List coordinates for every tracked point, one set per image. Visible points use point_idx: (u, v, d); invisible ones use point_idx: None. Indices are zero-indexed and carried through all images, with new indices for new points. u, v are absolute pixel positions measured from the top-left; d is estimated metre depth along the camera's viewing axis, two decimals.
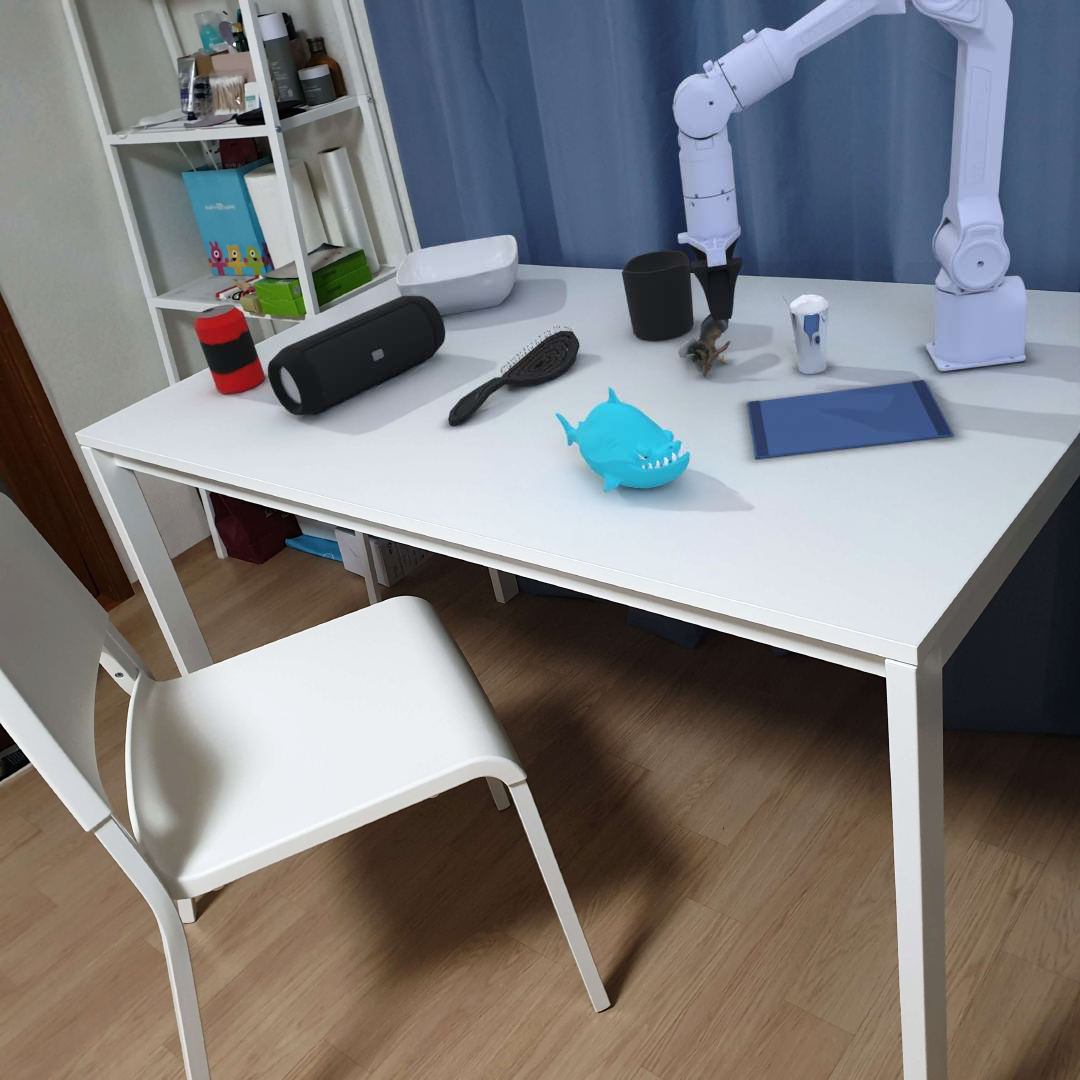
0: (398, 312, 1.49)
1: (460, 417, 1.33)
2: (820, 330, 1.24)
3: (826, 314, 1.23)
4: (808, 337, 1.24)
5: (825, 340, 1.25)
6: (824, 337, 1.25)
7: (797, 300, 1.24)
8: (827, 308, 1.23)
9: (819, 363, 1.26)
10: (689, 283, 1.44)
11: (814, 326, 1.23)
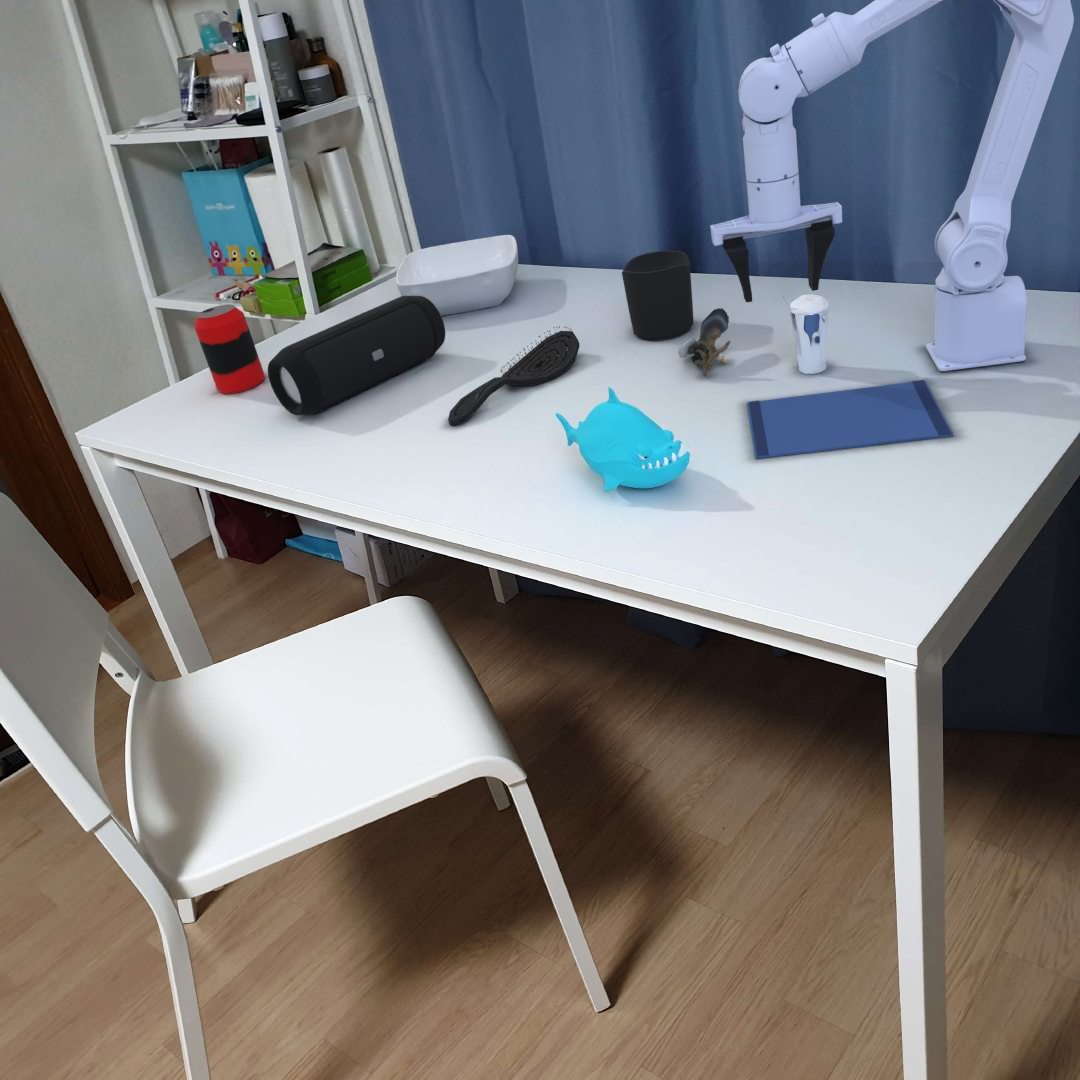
0: (398, 312, 1.49)
1: (460, 417, 1.33)
2: (820, 330, 1.24)
3: (826, 314, 1.23)
4: (808, 337, 1.24)
5: (825, 340, 1.25)
6: (824, 337, 1.25)
7: (797, 300, 1.24)
8: (827, 308, 1.23)
9: (819, 363, 1.26)
10: (689, 283, 1.44)
11: (814, 326, 1.23)
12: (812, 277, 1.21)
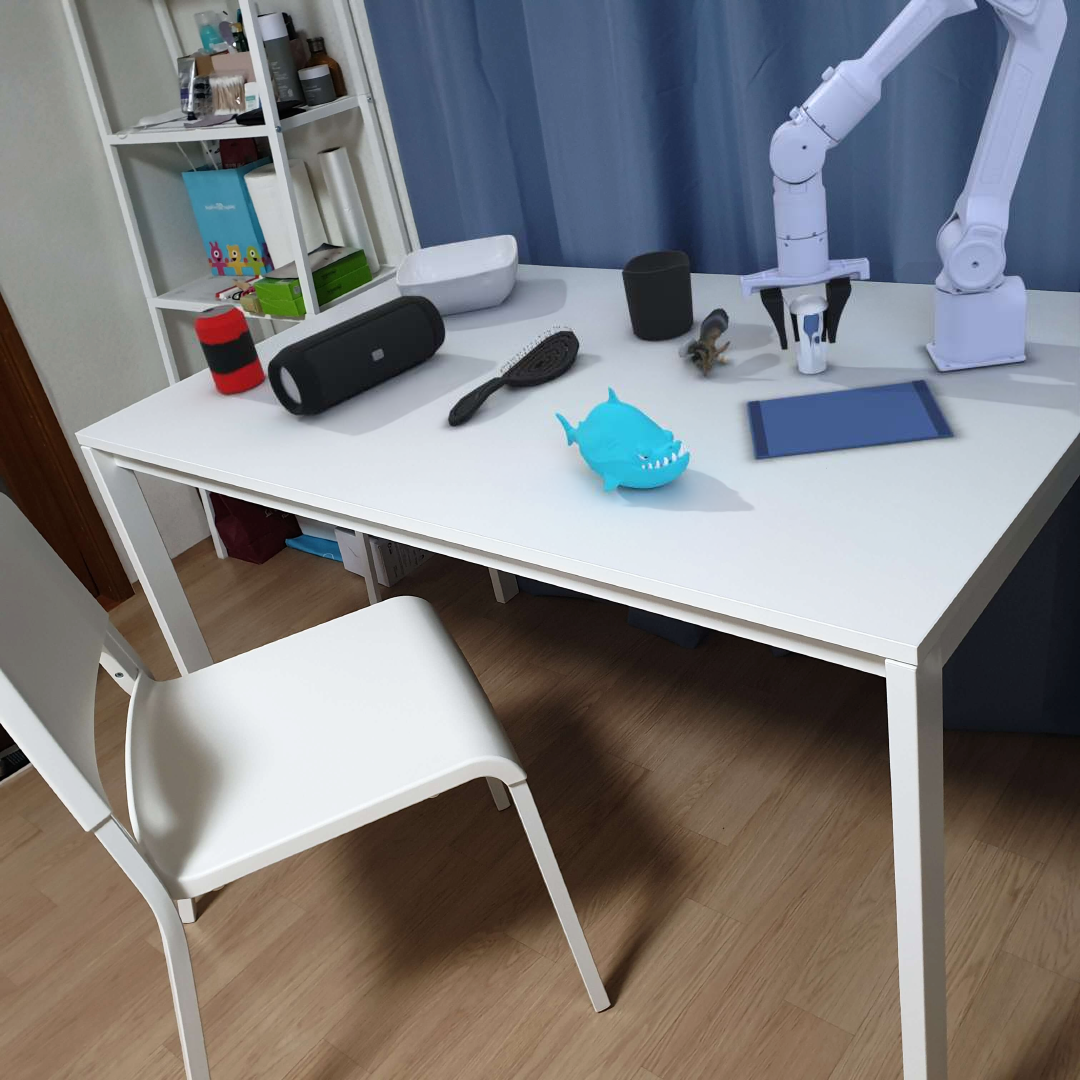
0: (398, 312, 1.49)
1: (460, 417, 1.33)
2: (819, 330, 1.24)
3: (826, 314, 1.23)
4: (808, 337, 1.24)
5: (825, 340, 1.25)
6: (824, 337, 1.25)
7: (797, 300, 1.24)
8: (827, 308, 1.23)
9: (819, 363, 1.26)
10: (689, 283, 1.44)
11: (814, 326, 1.23)
12: (829, 331, 1.24)
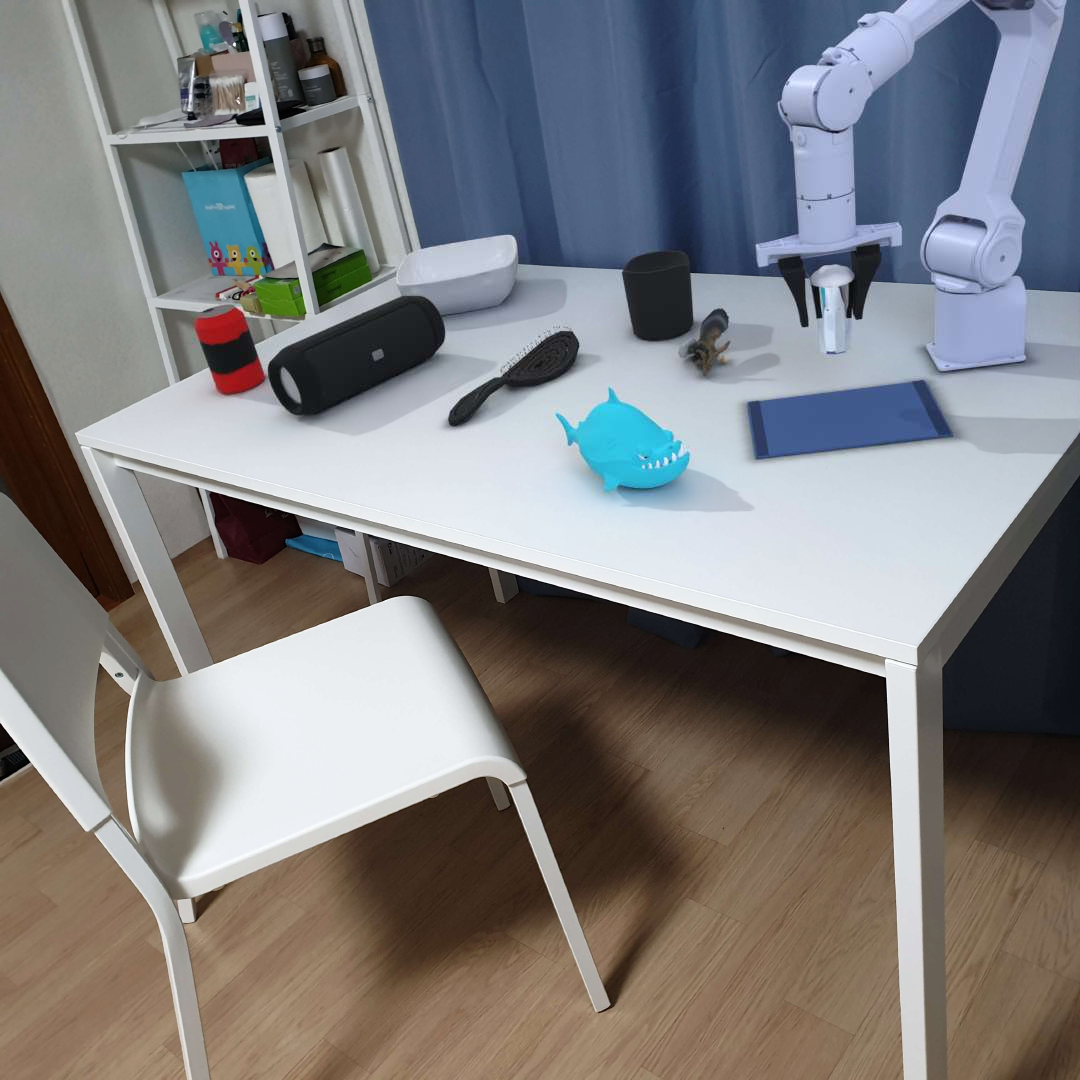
0: (398, 312, 1.49)
1: (460, 417, 1.33)
2: (845, 304, 1.10)
3: (852, 286, 1.09)
4: (832, 313, 1.10)
5: (850, 316, 1.11)
6: (849, 312, 1.11)
7: (819, 271, 1.10)
8: (853, 279, 1.09)
9: (843, 342, 1.12)
10: (689, 283, 1.44)
11: (838, 300, 1.09)
12: (856, 305, 1.10)
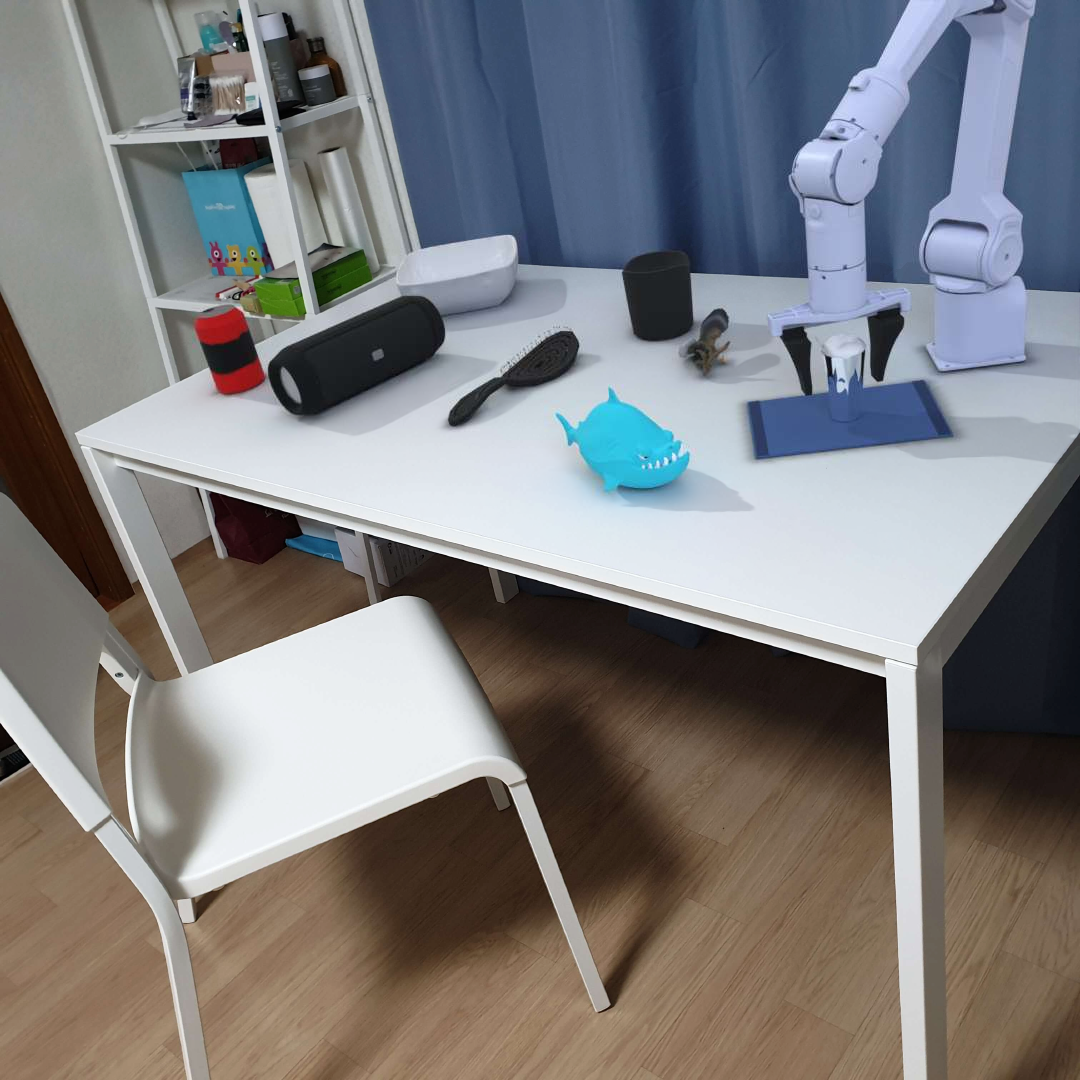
0: (398, 312, 1.49)
1: (460, 417, 1.33)
2: (858, 373, 1.11)
3: (864, 355, 1.10)
4: (846, 382, 1.11)
5: (862, 384, 1.12)
6: (861, 381, 1.12)
7: (830, 341, 1.11)
8: (865, 349, 1.10)
9: (856, 409, 1.13)
10: (689, 283, 1.44)
11: (852, 370, 1.10)
12: (877, 368, 1.11)
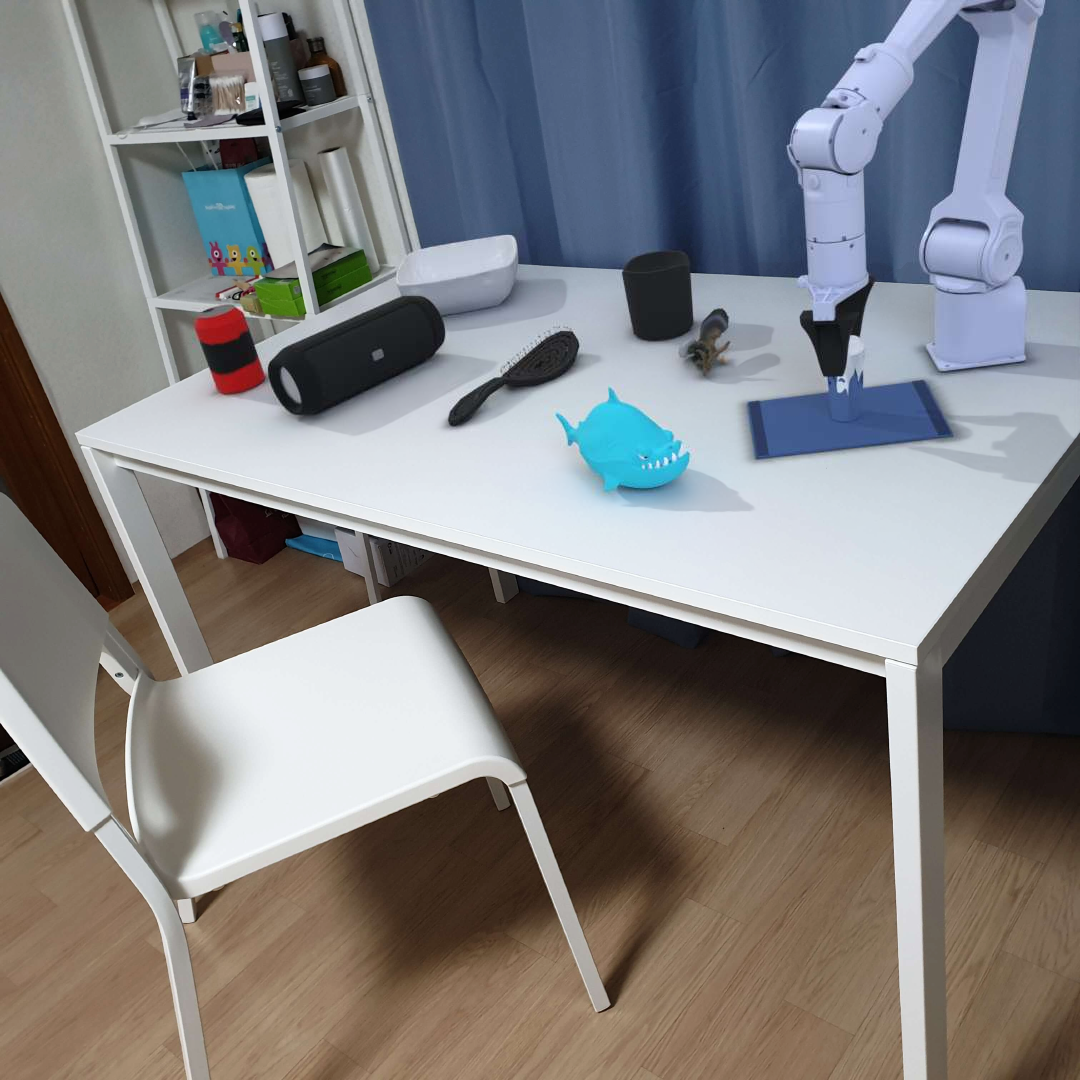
0: (398, 312, 1.49)
1: (460, 417, 1.33)
2: (858, 373, 1.11)
3: (864, 355, 1.10)
4: (846, 382, 1.11)
5: (862, 384, 1.12)
6: (861, 381, 1.12)
7: None
8: (865, 349, 1.10)
9: (856, 409, 1.13)
10: (689, 283, 1.44)
11: (852, 370, 1.10)
12: (856, 333, 1.13)
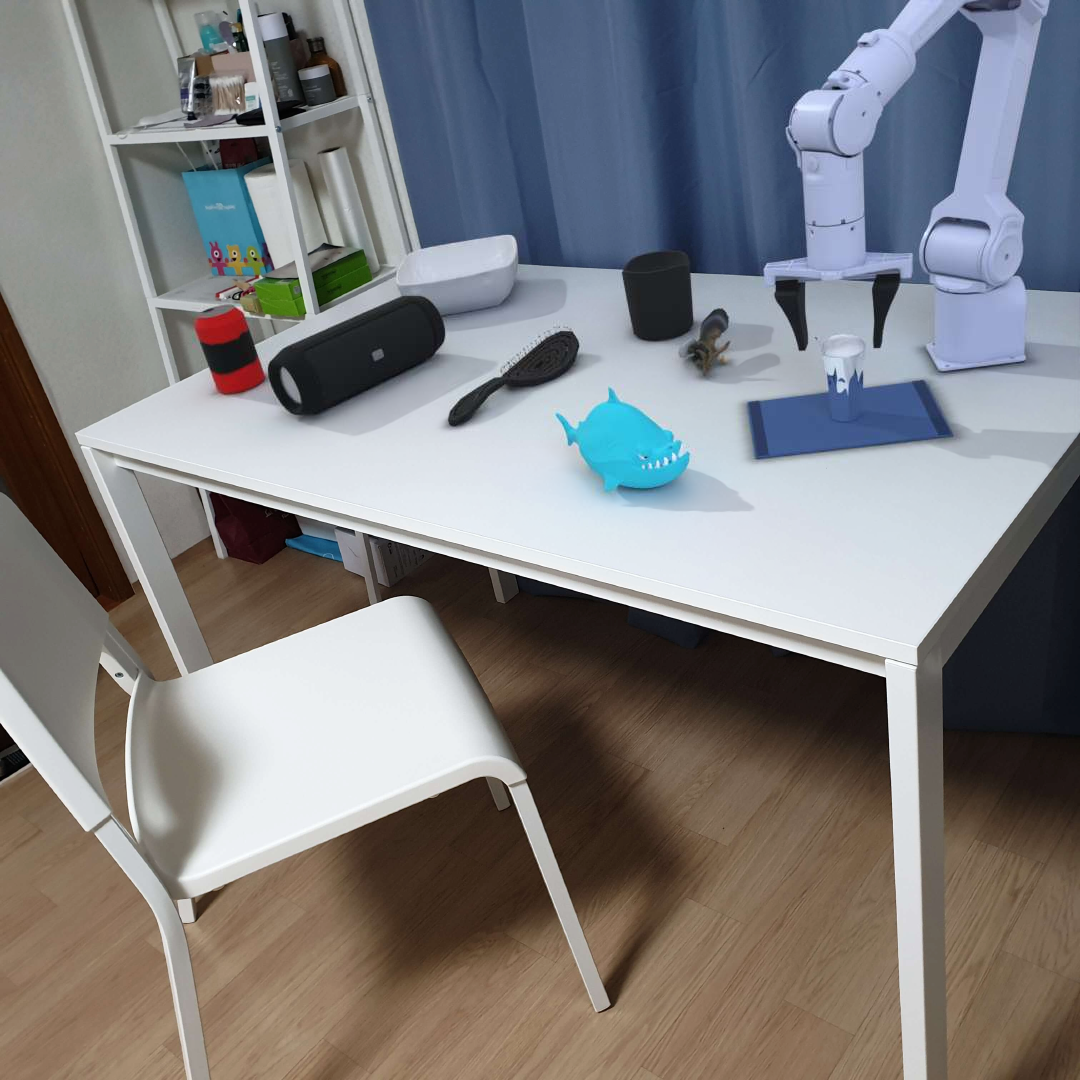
0: (398, 312, 1.49)
1: (460, 417, 1.33)
2: (858, 373, 1.11)
3: (864, 355, 1.10)
4: (846, 382, 1.11)
5: (862, 384, 1.12)
6: (861, 381, 1.12)
7: (830, 341, 1.11)
8: (865, 349, 1.10)
9: (856, 409, 1.13)
10: (689, 283, 1.44)
11: (852, 370, 1.10)
12: (806, 329, 1.12)
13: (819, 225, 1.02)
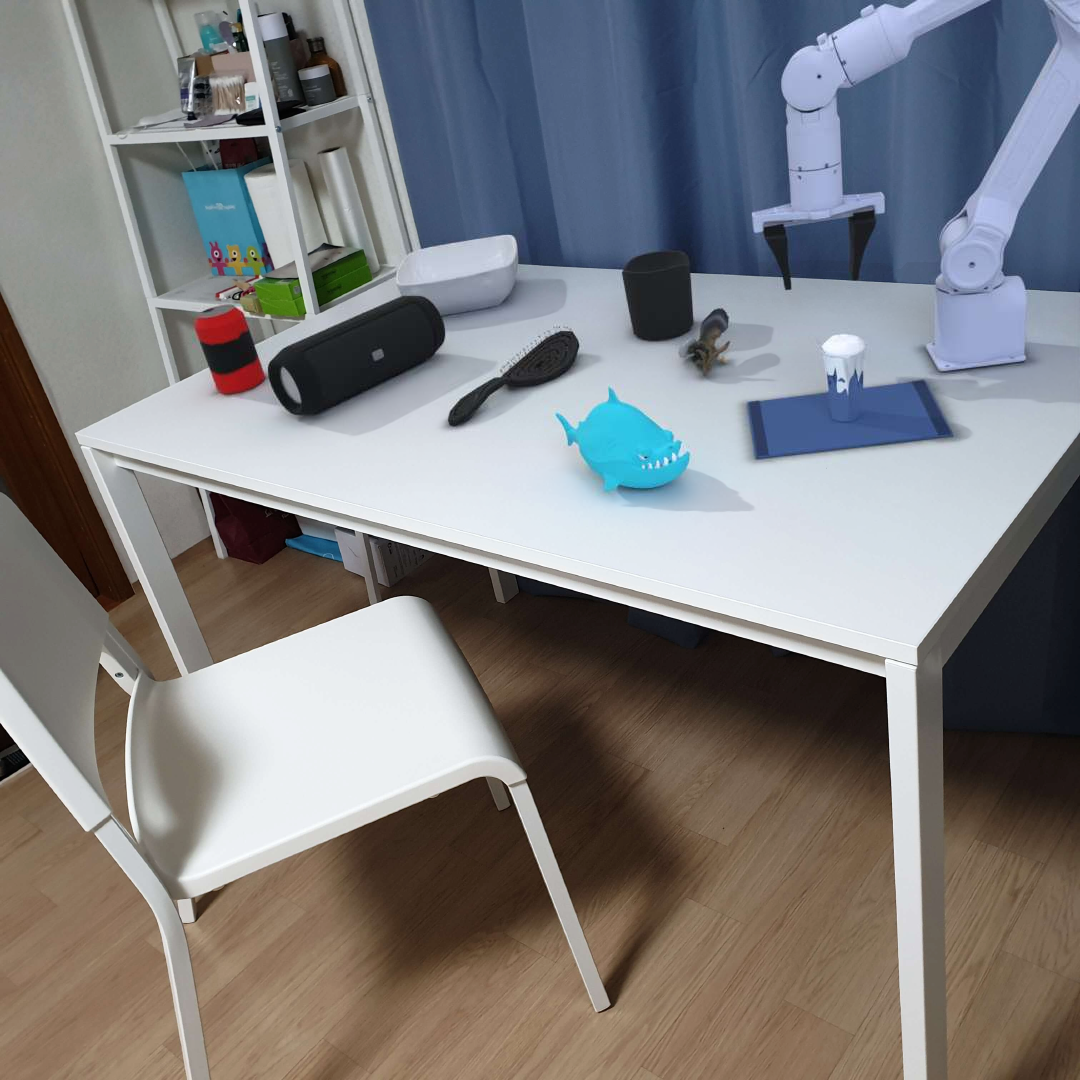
0: (398, 312, 1.49)
1: (460, 417, 1.33)
2: (858, 373, 1.11)
3: (864, 355, 1.10)
4: (846, 382, 1.11)
5: (862, 384, 1.12)
6: (861, 381, 1.12)
7: (830, 341, 1.11)
8: (865, 349, 1.10)
9: (856, 409, 1.13)
10: (689, 283, 1.44)
11: (852, 370, 1.10)
12: None
13: (807, 170, 1.15)
